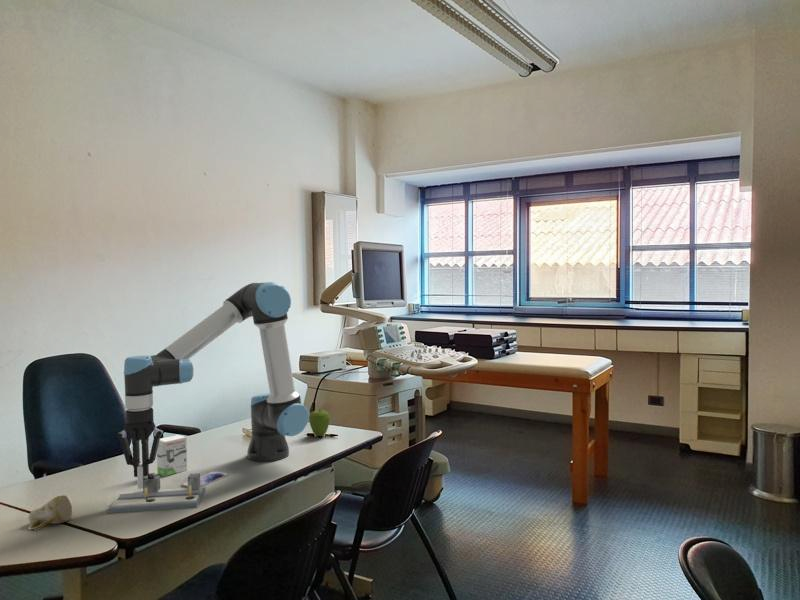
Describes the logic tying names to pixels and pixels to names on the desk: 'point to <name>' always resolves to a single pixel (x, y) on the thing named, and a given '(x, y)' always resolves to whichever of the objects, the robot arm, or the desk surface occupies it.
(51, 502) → the beige tapered chunky piece
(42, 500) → the desk surface
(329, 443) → the desk surface
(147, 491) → the sliding leg
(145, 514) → the desk surface
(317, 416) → the apple
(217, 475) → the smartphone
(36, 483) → the desk surface
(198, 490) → the board
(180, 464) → the ink box
